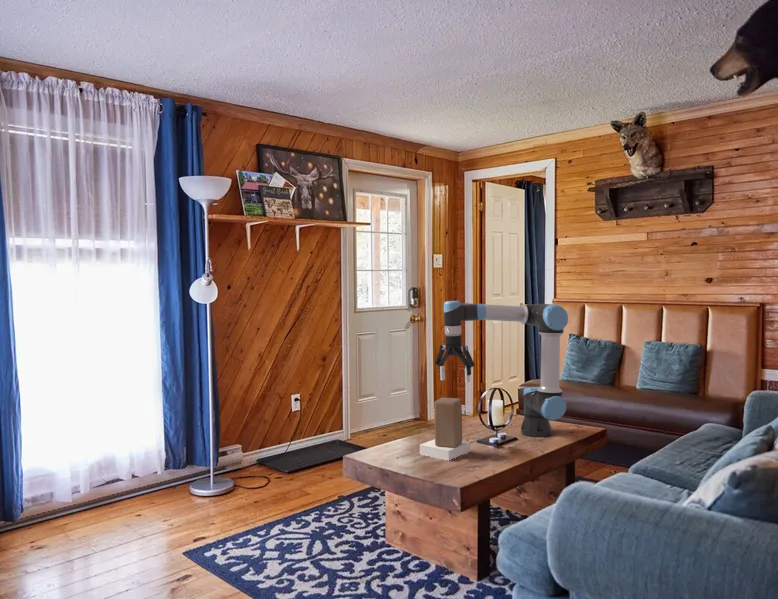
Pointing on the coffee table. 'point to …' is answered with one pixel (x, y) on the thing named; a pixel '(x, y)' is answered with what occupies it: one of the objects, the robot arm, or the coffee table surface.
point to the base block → (444, 450)
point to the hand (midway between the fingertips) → (455, 381)
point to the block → (448, 422)
